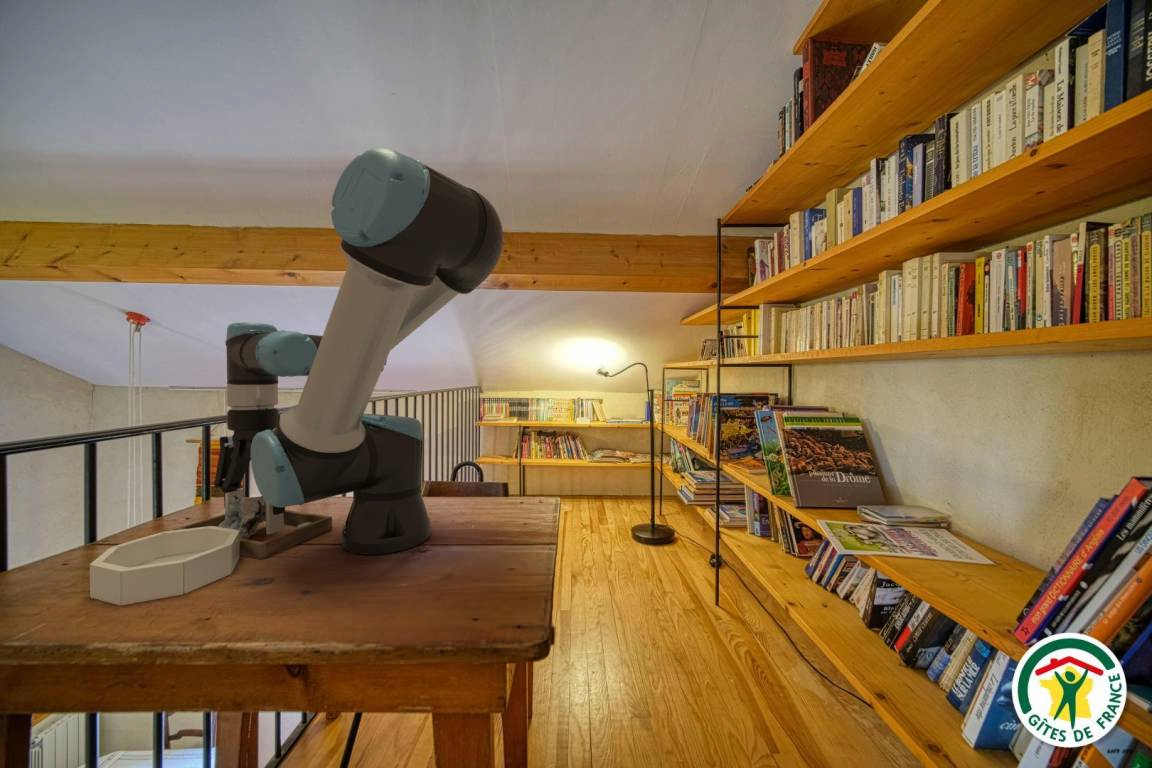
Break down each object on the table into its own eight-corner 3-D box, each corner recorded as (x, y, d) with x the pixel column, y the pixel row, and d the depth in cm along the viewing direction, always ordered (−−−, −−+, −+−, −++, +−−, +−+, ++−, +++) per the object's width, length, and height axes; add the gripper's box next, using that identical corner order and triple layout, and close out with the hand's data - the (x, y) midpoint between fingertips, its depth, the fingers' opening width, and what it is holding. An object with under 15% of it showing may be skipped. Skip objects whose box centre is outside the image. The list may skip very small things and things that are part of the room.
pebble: (319, 531, 82) (319, 523, 82) (306, 537, 79) (306, 528, 79) (307, 529, 82) (307, 521, 82) (293, 535, 79) (293, 526, 79)
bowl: (260, 561, 68) (260, 533, 68) (144, 611, 54) (143, 576, 54) (193, 548, 72) (193, 522, 72) (68, 592, 58) (68, 559, 58)
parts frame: (331, 529, 82) (332, 516, 82) (261, 559, 69) (261, 544, 69) (253, 517, 88) (253, 505, 88) (173, 543, 74) (173, 529, 74)
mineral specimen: (231, 560, 77) (288, 541, 78) (196, 546, 71) (258, 525, 72) (240, 511, 83) (293, 495, 84) (209, 494, 76) (266, 476, 78)
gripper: (318, 407, 79) (318, 527, 79) (230, 404, 84) (231, 516, 85) (280, 411, 71) (281, 542, 72) (187, 407, 77) (188, 529, 78)
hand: (254, 528), depth 78 cm, fingers closed on mineral specimen, 9 cm apart
